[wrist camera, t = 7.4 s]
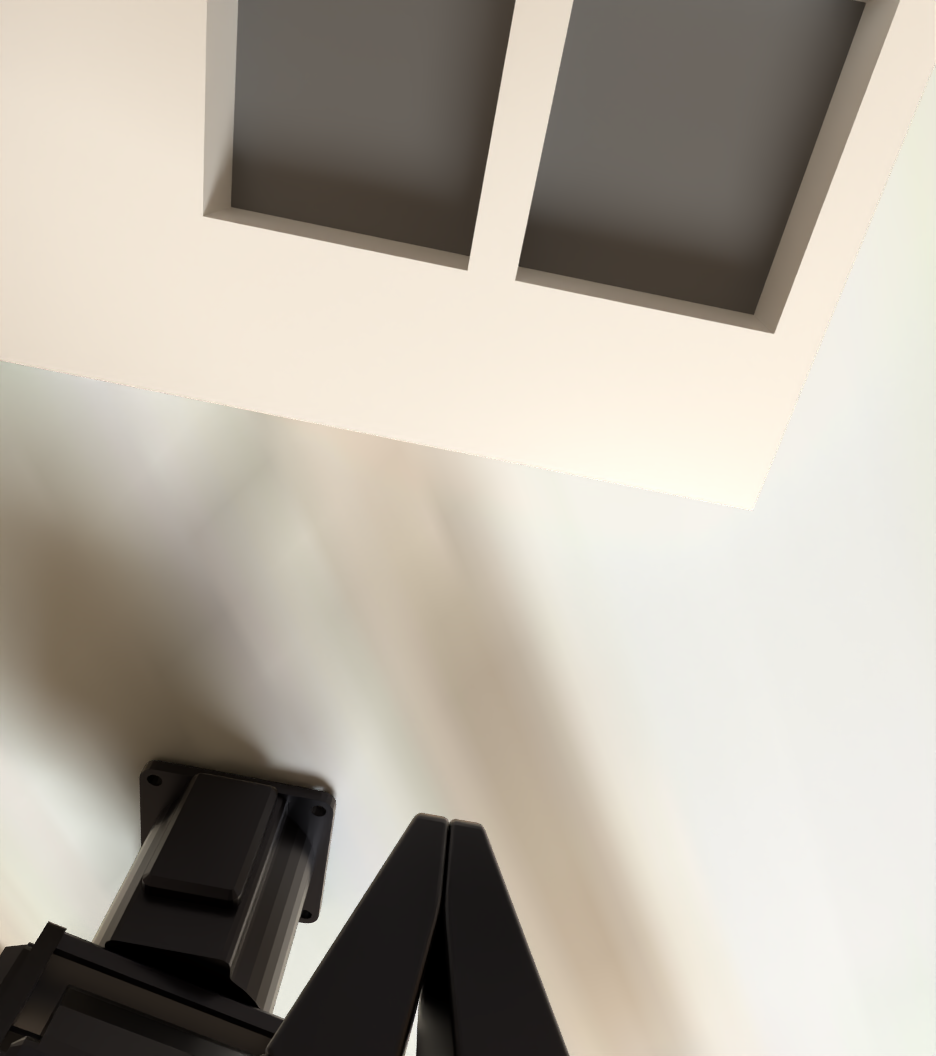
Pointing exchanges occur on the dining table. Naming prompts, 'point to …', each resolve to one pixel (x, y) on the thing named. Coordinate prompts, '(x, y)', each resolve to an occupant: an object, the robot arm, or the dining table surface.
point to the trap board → (456, 213)
